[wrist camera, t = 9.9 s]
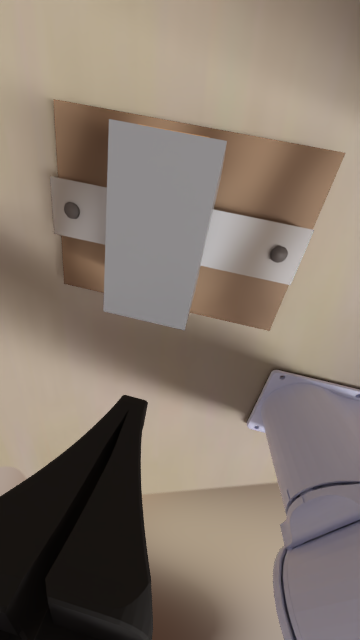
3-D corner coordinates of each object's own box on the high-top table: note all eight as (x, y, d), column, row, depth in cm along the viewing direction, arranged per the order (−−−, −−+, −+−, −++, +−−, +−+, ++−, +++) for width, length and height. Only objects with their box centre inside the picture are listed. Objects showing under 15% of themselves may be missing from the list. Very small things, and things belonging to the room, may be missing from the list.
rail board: (336, 157, 13) (364, 142, 11) (266, 325, 18) (274, 341, 16) (63, 107, 14) (32, 82, 11) (71, 280, 19) (50, 288, 17)
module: (222, 172, 13) (229, 130, 7) (194, 293, 17) (184, 330, 11) (153, 158, 14) (109, 108, 8) (140, 281, 17) (103, 311, 11)
